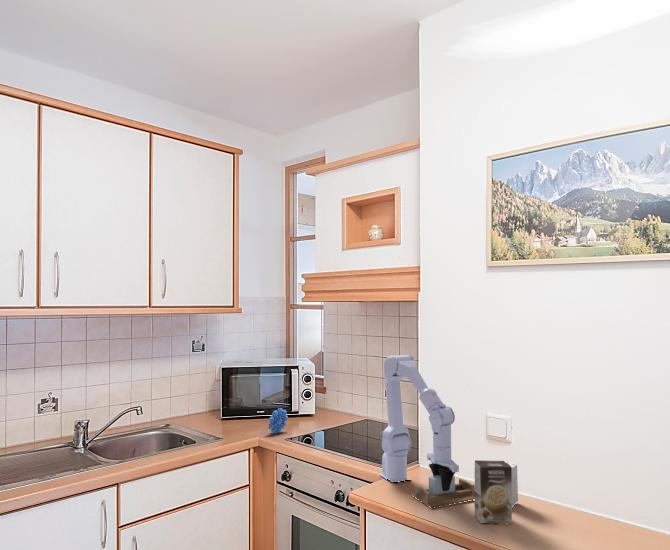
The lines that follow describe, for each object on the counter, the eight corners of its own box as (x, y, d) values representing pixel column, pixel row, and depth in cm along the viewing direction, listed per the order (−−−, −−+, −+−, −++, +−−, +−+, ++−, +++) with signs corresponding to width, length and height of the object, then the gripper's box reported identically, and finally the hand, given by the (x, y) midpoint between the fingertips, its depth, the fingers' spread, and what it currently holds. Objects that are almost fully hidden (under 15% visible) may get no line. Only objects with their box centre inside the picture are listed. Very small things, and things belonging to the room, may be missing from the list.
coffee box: (480, 524, 145) (480, 467, 146) (474, 515, 151) (473, 460, 152) (512, 524, 145) (512, 466, 146) (504, 515, 151) (503, 459, 152)
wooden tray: (412, 496, 166) (412, 483, 166) (457, 488, 173) (457, 476, 173) (431, 509, 155) (431, 495, 156) (478, 500, 163) (478, 487, 163)
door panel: (428, 496, 163) (428, 475, 164) (449, 492, 167) (449, 472, 167) (434, 499, 161) (434, 478, 161) (455, 495, 164) (454, 474, 164)
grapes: (281, 429, 253) (281, 405, 254) (290, 432, 248) (290, 407, 249) (262, 433, 245) (263, 408, 245) (271, 436, 240) (272, 410, 241)
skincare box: (505, 500, 163) (504, 461, 164) (518, 503, 160) (517, 464, 161) (497, 505, 158) (497, 466, 159) (511, 509, 155) (510, 469, 156)
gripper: (419, 441, 170) (419, 482, 169) (445, 452, 156) (445, 498, 156) (436, 439, 172) (437, 480, 172) (464, 450, 159) (464, 494, 158)
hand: (442, 488), depth 164 cm, fingers closed on door panel, 3 cm apart
